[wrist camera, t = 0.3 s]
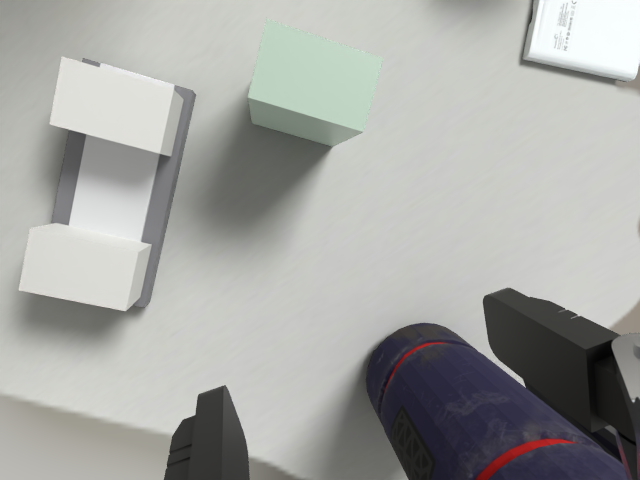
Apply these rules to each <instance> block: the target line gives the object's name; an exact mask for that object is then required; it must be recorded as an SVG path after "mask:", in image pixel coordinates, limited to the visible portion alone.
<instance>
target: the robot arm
mask: <svg viewBox="0 0 640 480" xmlns="http://www.w3.org/2000/svg"><path fill="white" fill-rule="evenodd" d="M483 307H484V314H485V321H486V328H487V334H488V341H489V344H490V347H491V349H492V351H493V353H494V354H495V356H496V357H497V358H498V359H499V360H500V361H501V362H502V363H504V364H505V365H506V366H507V367H509V368H510V369H511V370H512V371H514V372H515V373H516V374H518V375H519V376H520V377H521V378H523V379H524V380H525V381H526V382H528V383H529V384H530V385H532V386H533V387H534V388H535V389H537V390H538V391H539V392H540V393H542V394H543V395H544V396H545V397H547V398H548V399H549V400H551V401H552V402H553V403H554V404H556V405H557V406H558V407H559V408H561V409H562V410H563V411H565V412H566V413H567V414H568V415H570V416H571V417H572V418H573V419H575V420H576V421H577V422H578V423H580V424H581V425H582V426H584V427H585V428H586V429H587V430H589V431H590V432H591V433H592V432H595V431H597V430H599V429H602V428H604V427H606V426H609V425H611V426H612V427H614V428H615V429H616V441H617V445H618V448H619V452H620V455H621V459H622V462H623V466H624V469H625V472H626V476H627V479H628V480H640V333H629V334H624V335H622V336H621V335H619V334H617V333H615V332H613V331H611V330H609V329H607V328H605V327H602V326H600V325H598V324H596V323H594V322H592V321H590V320H588V319H586V318H584V317H582V316H578V315H577V314H575V313H573V312H571V311H569V310H565V308H563V307H561V306H559V305H557V304H555V303H553V302H550V301H547V300H542V299H537V298H533V297H530V298H529V297H527V296H525V295H523V294H521V293H519V292H517V291H515V290H513V289H511V288H505V289H502V290H500V291H497V292H494V293H491V294H488V295H486V296H484V298H483ZM164 480H250V478H249V461H248V450H247V444H246V440H245V436H244V432H243V429H242V427H241V424H240V421H239V418H238V416H237V413H236V410H235V407H234V405H233V402H232V399H231V396H230V394H229V391H228V389H227V387H226V386H225V385H224V386H221V387H218V388H216V389H213V390H210V391H207V392H204V393H201V394H199V395H198V399H197V407H196V415H195V416H192V417H189V418H187V419H184V420H183V421H182V422H181V424H180V425H179V427H178V428H177V430H176V431H175V433H174V435H173V436H172V442H171V446H170V455H169V457H168V462H167V469H166V473H165V477H164Z"/></svg>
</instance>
